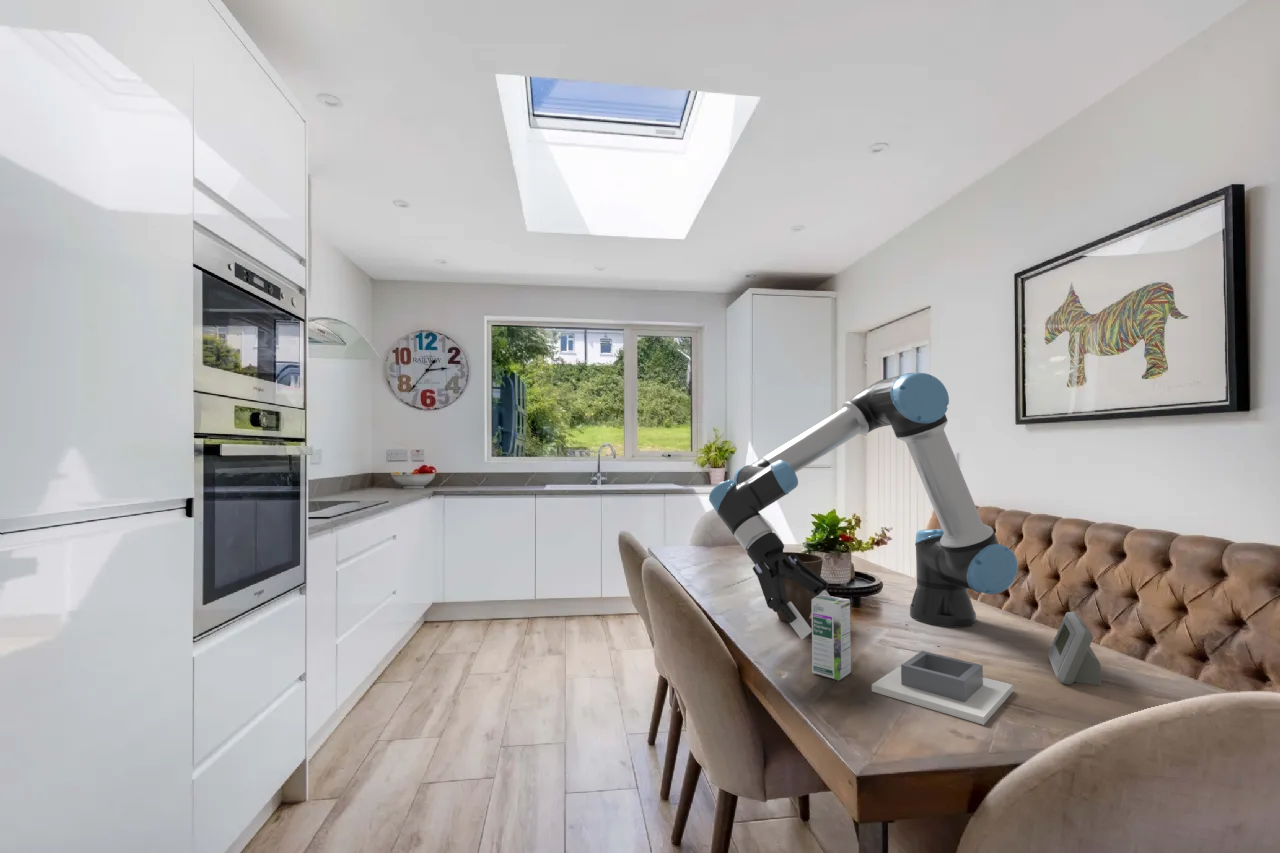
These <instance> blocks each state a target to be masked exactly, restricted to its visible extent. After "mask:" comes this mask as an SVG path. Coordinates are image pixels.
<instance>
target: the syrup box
mask: <svg viewBox="0 0 1280 853" xmlns="http://www.w3.org/2000/svg"><path fill="white" fill-rule="evenodd" d="M811 629H812V632H811V673H812V674H813V675H817V676H818V675H819V676H822V677H826V678H829V679H833V680H835V681H840V680H842V679H844V678H845V677H846V676H848V675H850V673H851V672H852V669H851V668H852V664H851V663H852V662H851V661H852V659H851V657H852V654H851V646H852V645H851V600H850V598H843V597H838V596H831V595H830V596H827V595H819V596H817V595H816V597H815V598H813V599H812V601H811Z"/></svg>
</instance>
